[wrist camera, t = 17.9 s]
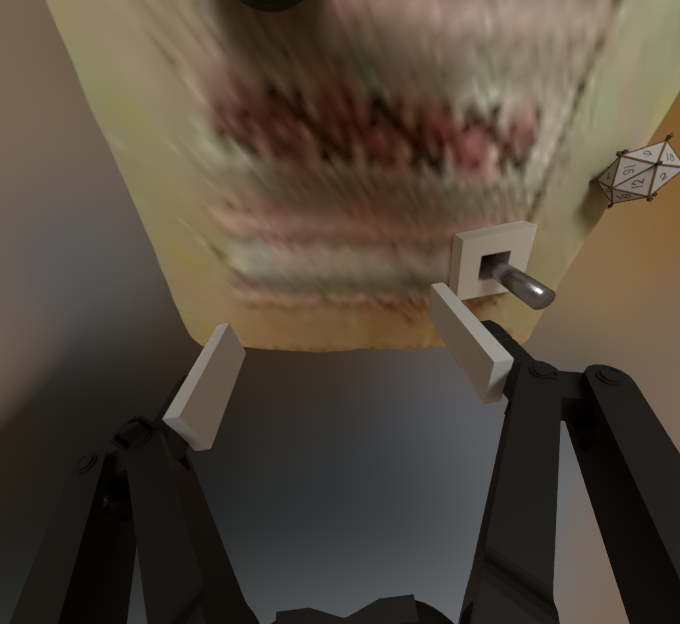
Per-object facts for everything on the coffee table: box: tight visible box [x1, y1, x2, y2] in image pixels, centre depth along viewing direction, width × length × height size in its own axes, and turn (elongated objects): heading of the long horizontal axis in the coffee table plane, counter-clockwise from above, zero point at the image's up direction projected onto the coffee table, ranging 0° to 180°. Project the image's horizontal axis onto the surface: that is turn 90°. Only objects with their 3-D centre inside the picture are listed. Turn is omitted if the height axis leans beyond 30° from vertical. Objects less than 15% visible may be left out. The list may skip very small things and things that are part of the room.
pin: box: [480, 254, 555, 310], centre depth 39 cm, size 3×3×15 cm
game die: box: [589, 133, 680, 208], centre depth 35 cm, size 9×8×10 cm
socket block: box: [449, 220, 538, 300], centre depth 44 cm, size 12×12×4 cm
